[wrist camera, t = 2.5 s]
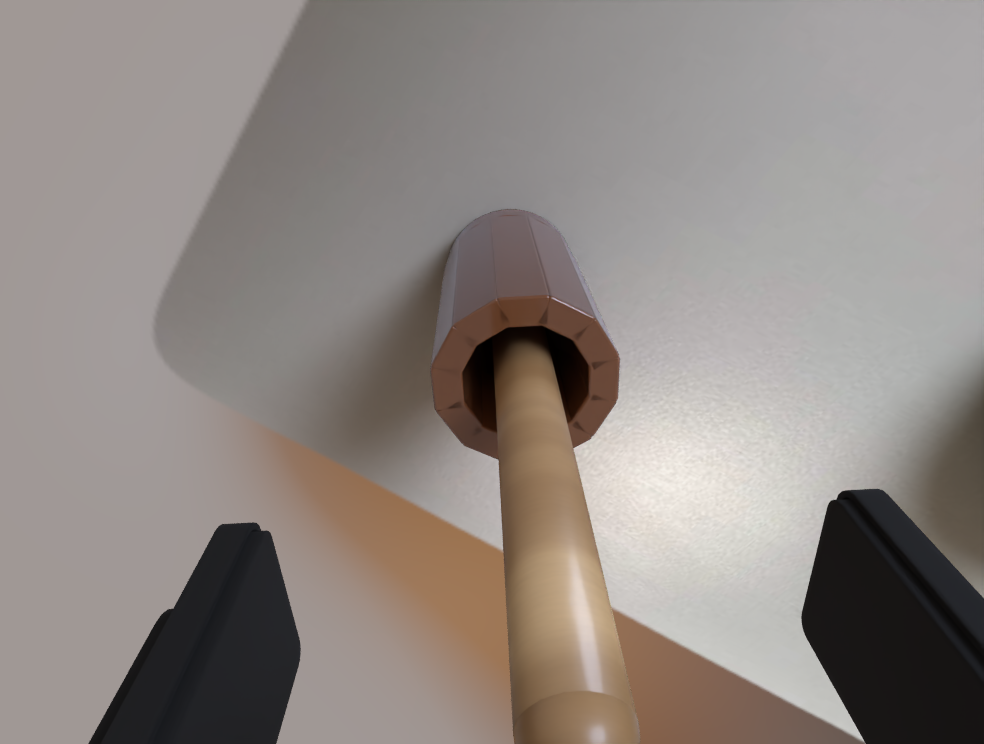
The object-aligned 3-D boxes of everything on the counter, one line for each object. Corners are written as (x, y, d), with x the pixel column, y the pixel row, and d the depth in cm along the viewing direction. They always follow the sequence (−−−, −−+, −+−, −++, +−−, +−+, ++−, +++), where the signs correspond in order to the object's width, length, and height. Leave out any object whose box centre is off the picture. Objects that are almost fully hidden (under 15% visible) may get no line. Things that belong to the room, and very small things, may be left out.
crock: (441, 212, 23) (422, 302, 15) (573, 205, 23) (624, 291, 15) (451, 332, 25) (440, 466, 17) (571, 326, 25) (615, 457, 17)
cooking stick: (488, 260, 23) (514, 760, 7) (532, 258, 23) (659, 752, 7) (490, 302, 24) (519, 838, 8) (532, 299, 24) (650, 832, 8)
